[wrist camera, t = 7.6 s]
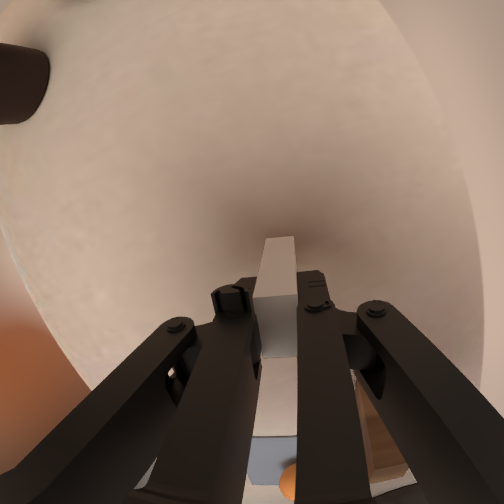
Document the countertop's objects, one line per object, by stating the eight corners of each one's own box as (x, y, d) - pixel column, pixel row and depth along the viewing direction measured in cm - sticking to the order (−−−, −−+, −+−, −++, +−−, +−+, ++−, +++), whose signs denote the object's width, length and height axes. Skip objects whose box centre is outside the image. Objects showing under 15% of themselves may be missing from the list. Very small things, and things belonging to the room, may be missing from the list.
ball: (327, 509, 20) (328, 478, 21) (277, 511, 21) (274, 480, 22) (326, 482, 26) (327, 451, 26) (282, 484, 27) (280, 453, 27)
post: (382, 392, 21) (403, 476, 13) (354, 397, 22) (368, 484, 13) (386, 372, 20) (412, 461, 12) (356, 377, 21) (374, 469, 12)
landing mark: (353, 478, 28) (353, 479, 28) (252, 483, 30) (252, 484, 30) (368, 427, 23) (368, 429, 23) (232, 436, 25) (232, 437, 25)
